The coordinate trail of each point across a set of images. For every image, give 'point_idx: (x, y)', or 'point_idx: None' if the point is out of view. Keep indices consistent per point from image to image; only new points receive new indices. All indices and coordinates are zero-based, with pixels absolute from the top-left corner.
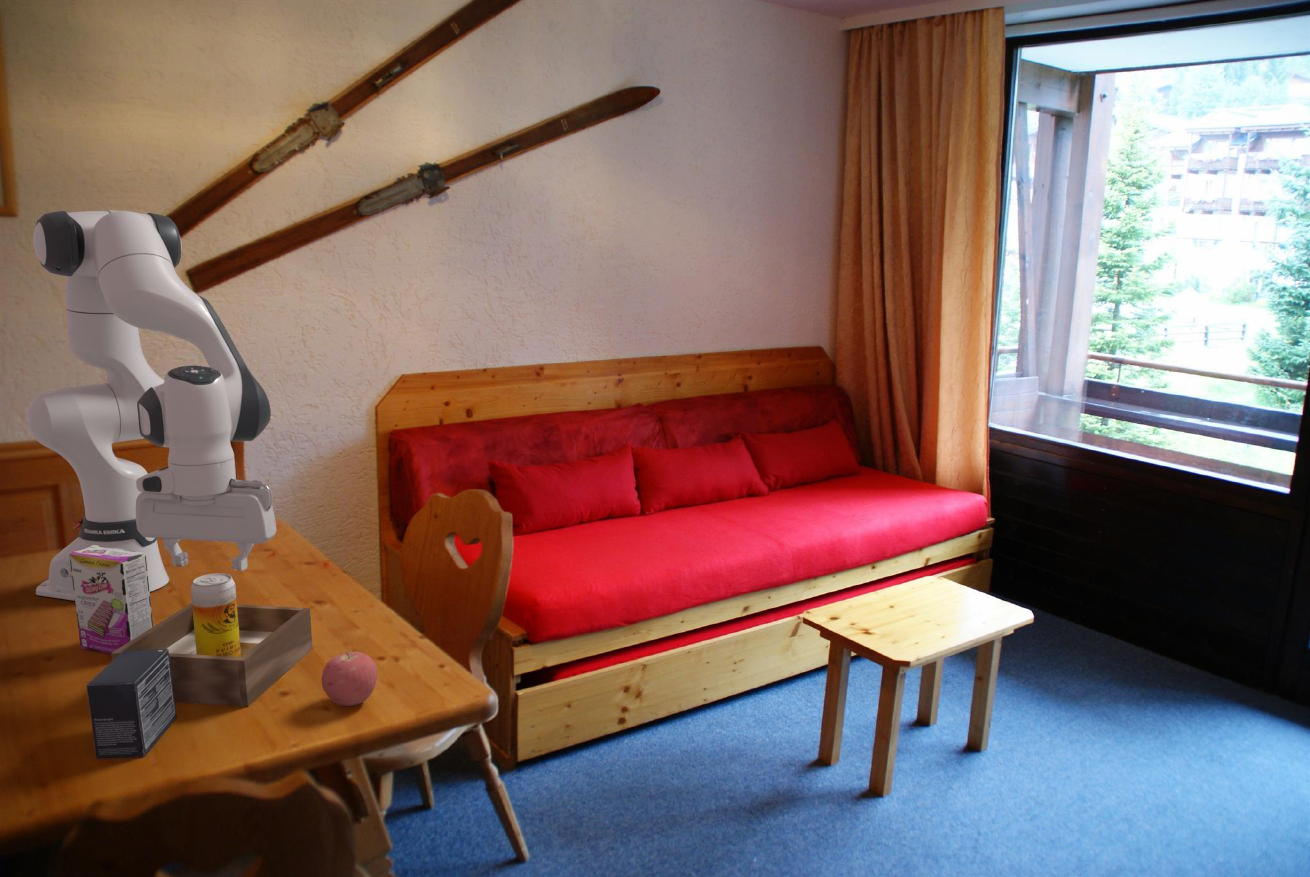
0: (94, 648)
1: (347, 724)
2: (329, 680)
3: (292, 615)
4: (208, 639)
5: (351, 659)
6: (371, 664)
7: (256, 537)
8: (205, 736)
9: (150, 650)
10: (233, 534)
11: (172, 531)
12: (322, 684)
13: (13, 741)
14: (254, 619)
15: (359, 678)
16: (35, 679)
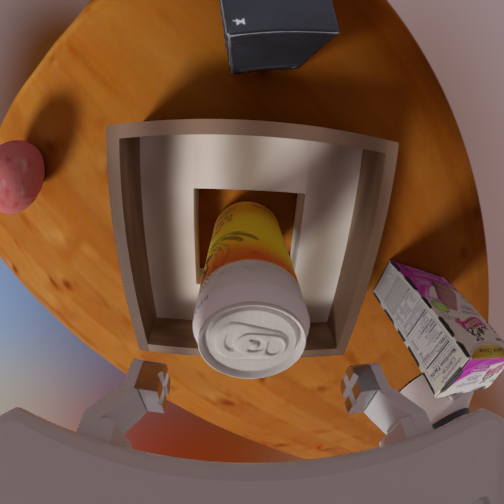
0: (433, 274)
1: (22, 119)
2: (12, 143)
3: (164, 338)
4: (243, 224)
5: None
6: None
7: (13, 426)
8: (160, 37)
9: (268, 23)
10: (89, 470)
11: (409, 467)
12: (30, 149)
13: (410, 35)
14: None
15: None
16: (463, 199)
